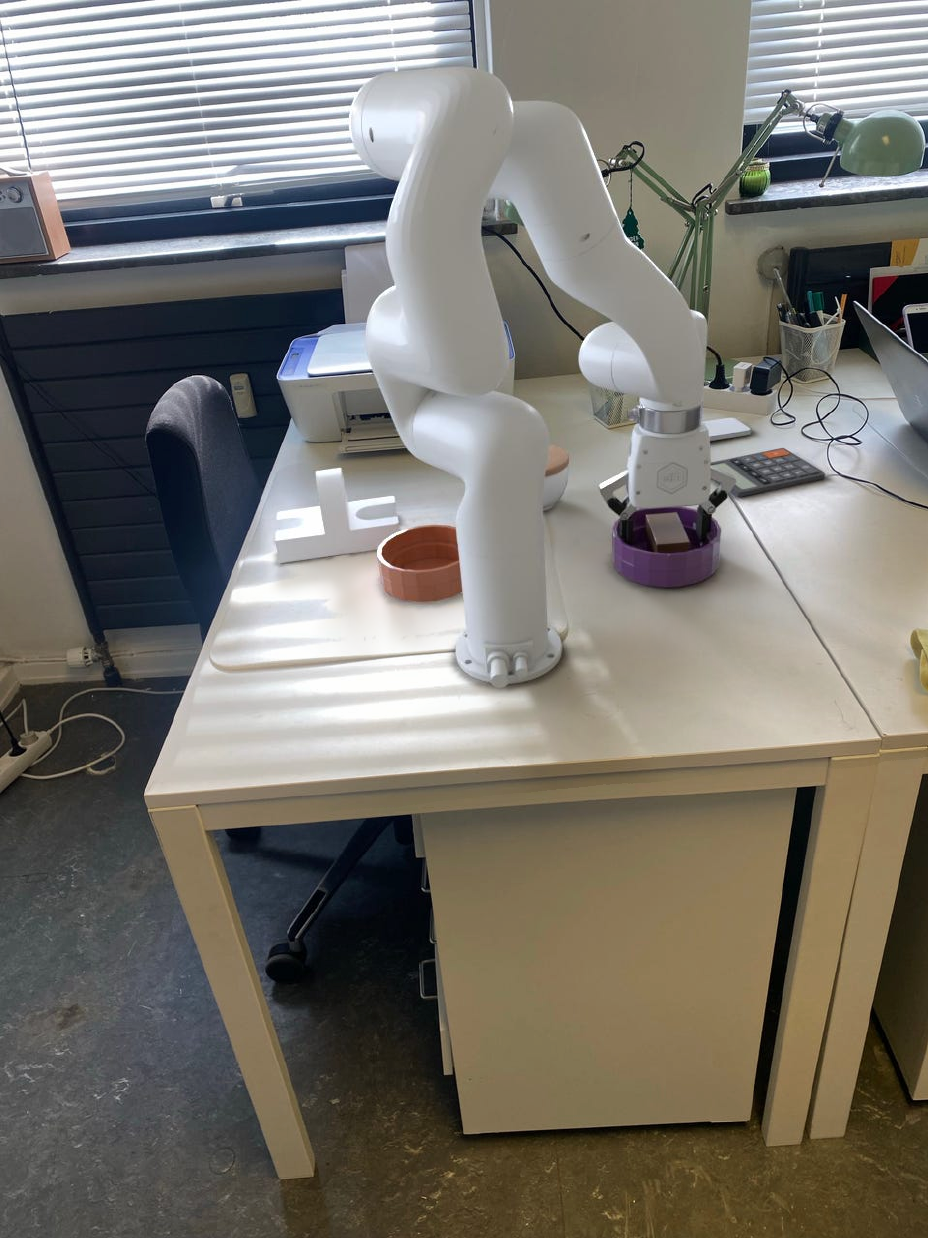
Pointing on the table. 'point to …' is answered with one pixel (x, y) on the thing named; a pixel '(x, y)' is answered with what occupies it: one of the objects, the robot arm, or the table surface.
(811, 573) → the table surface
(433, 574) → the terracotta bowl
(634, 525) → the plum bowl
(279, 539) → the white slotted stand
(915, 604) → the table surface
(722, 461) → the calculator
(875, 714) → the table surface
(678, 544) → the scrub brush
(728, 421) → the smartphone
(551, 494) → the trinket box
